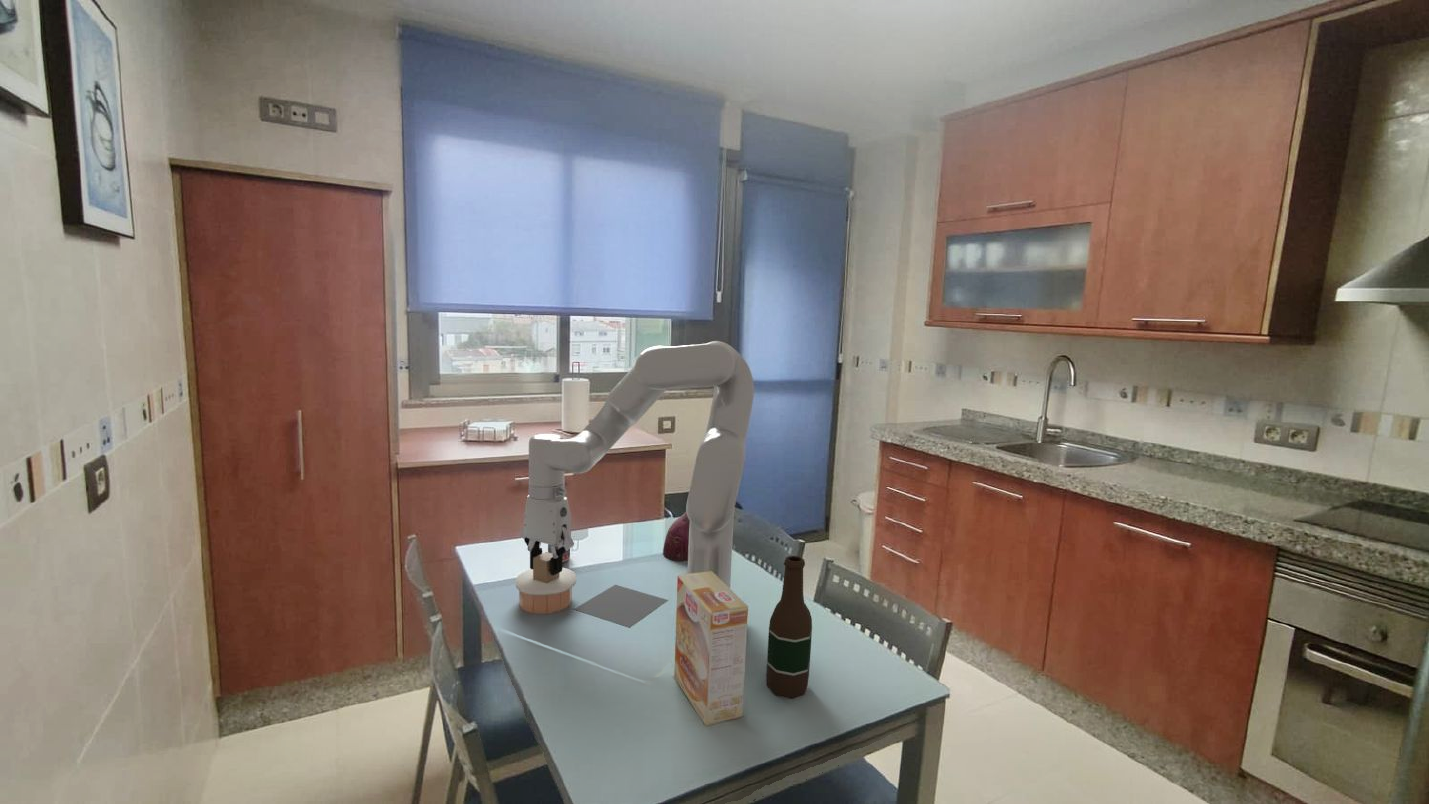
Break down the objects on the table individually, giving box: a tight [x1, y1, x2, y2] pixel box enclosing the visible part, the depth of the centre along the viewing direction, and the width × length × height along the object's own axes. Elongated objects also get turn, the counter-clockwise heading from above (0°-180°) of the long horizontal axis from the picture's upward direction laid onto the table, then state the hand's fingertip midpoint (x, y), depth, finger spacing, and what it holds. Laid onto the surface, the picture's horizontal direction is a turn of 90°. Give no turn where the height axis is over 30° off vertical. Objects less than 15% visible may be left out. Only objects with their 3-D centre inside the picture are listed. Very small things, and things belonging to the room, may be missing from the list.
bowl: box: [518, 587, 573, 615], centre depth 138 cm, size 11×11×5 cm
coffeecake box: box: [673, 571, 749, 726], centre depth 106 cm, size 15×7×20 cm, turn 24°
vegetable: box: [662, 511, 690, 563], centre depth 170 cm, size 10×10×15 cm
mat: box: [573, 584, 669, 629], centre depth 139 cm, size 15×15×1 cm
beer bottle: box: [765, 555, 813, 699], centre depth 109 cm, size 8×8×24 cm
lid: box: [515, 551, 577, 595], centre depth 137 cm, size 13×13×6 cm
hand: (546, 569), depth 137 cm, fingers open, 5 cm apart
